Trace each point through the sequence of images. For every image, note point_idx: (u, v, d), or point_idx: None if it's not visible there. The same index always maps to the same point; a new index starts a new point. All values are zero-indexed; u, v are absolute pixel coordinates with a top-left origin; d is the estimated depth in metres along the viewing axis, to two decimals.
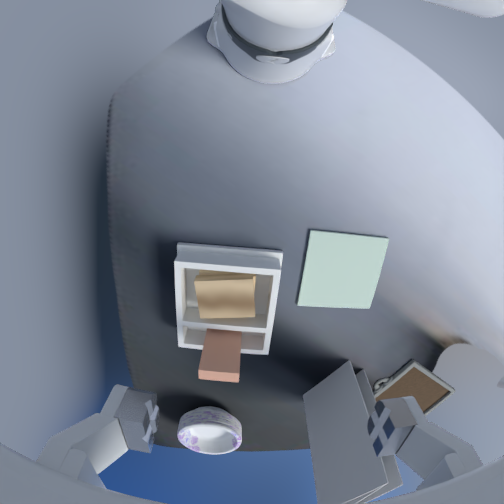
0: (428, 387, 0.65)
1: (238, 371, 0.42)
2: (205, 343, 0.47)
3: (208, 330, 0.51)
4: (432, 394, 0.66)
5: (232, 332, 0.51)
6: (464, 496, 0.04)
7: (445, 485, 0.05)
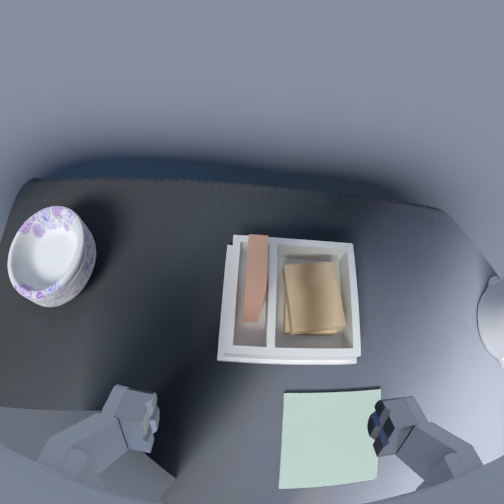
0: None
1: (265, 290, 0.29)
2: None
3: None
4: None
5: None
6: (464, 496, 0.04)
7: (445, 485, 0.05)
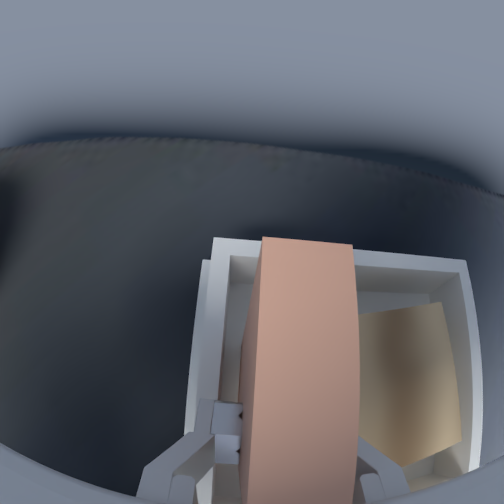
0: None
1: None
2: None
3: None
4: None
5: None
6: (464, 496, 0.04)
7: (445, 485, 0.05)
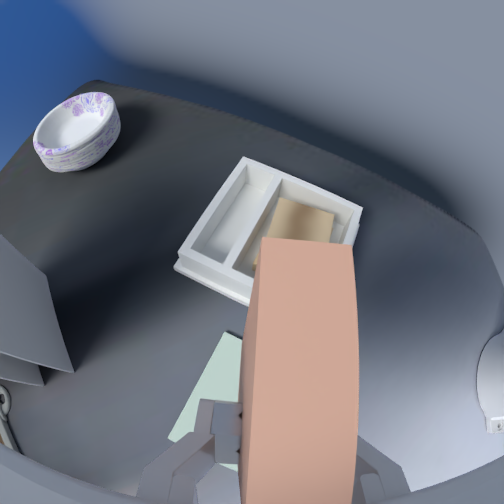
0: None
1: None
2: None
3: None
4: None
5: None
6: (464, 496, 0.04)
7: (445, 485, 0.05)
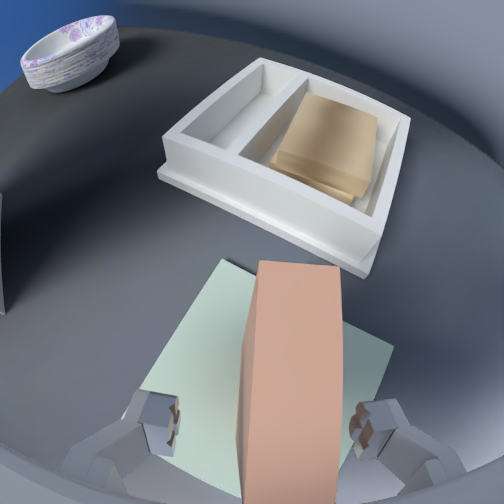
0: None
1: None
2: None
3: None
4: None
5: None
6: (464, 496, 0.04)
7: (445, 485, 0.05)
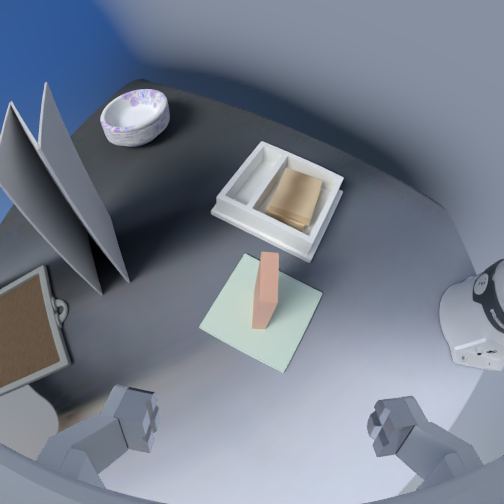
0: (5, 370, 0.36)
1: (277, 302, 0.33)
2: None
3: None
4: None
5: None
6: (464, 496, 0.04)
7: (445, 485, 0.05)
